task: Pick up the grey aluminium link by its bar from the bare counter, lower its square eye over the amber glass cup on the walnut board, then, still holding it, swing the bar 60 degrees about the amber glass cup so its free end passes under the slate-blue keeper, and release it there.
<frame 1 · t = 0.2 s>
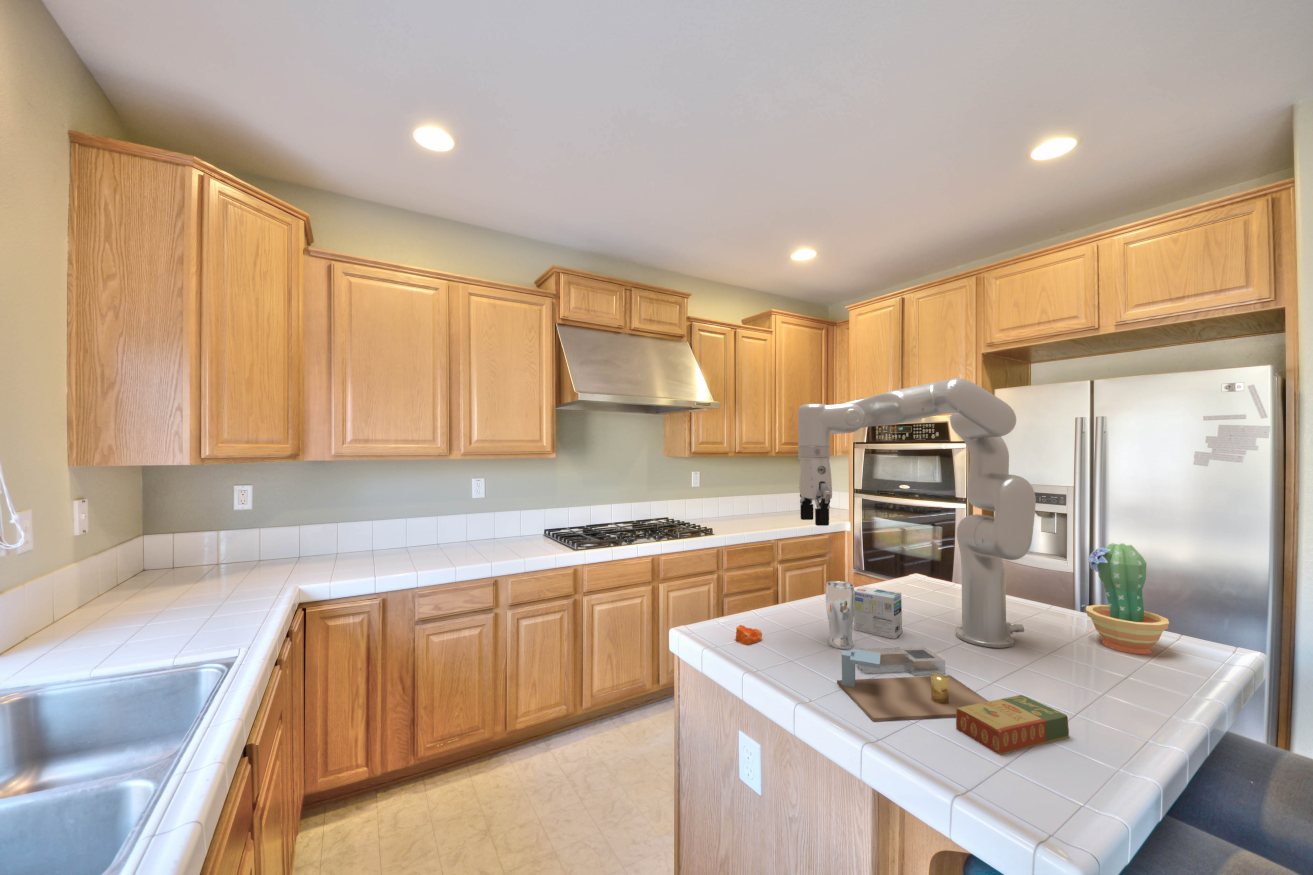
hand: (814, 522, 127), 31 cm above the countertop, fingers open, 9 cm apart
potted cactus: (1126, 647, 126), on the countertop
carton: (1011, 736, 88), on the countertop
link: (861, 670, 113), on the countertop
board: (915, 697, 101), on the countertop
keeper: (864, 673, 104), resting on board
rock: (748, 644, 131), on the countertop
light bulb box: (877, 632, 137), on the countertop
beer glass: (840, 645, 128), on the countertop
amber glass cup: (939, 688, 98), on the board, point 3 cm above the countertop
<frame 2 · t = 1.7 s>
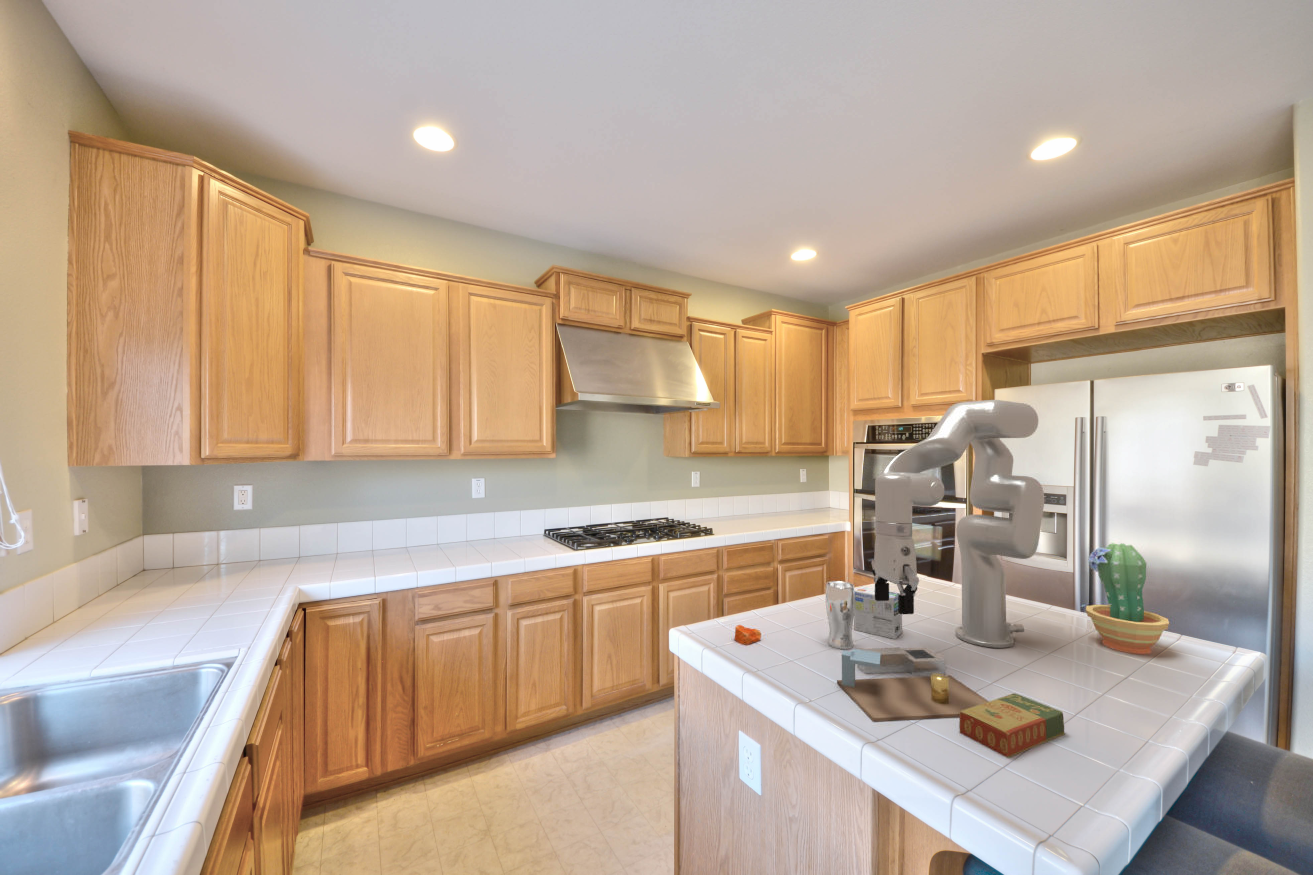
hand: (893, 606, 114), 14 cm above the countertop, fingers open, 9 cm apart
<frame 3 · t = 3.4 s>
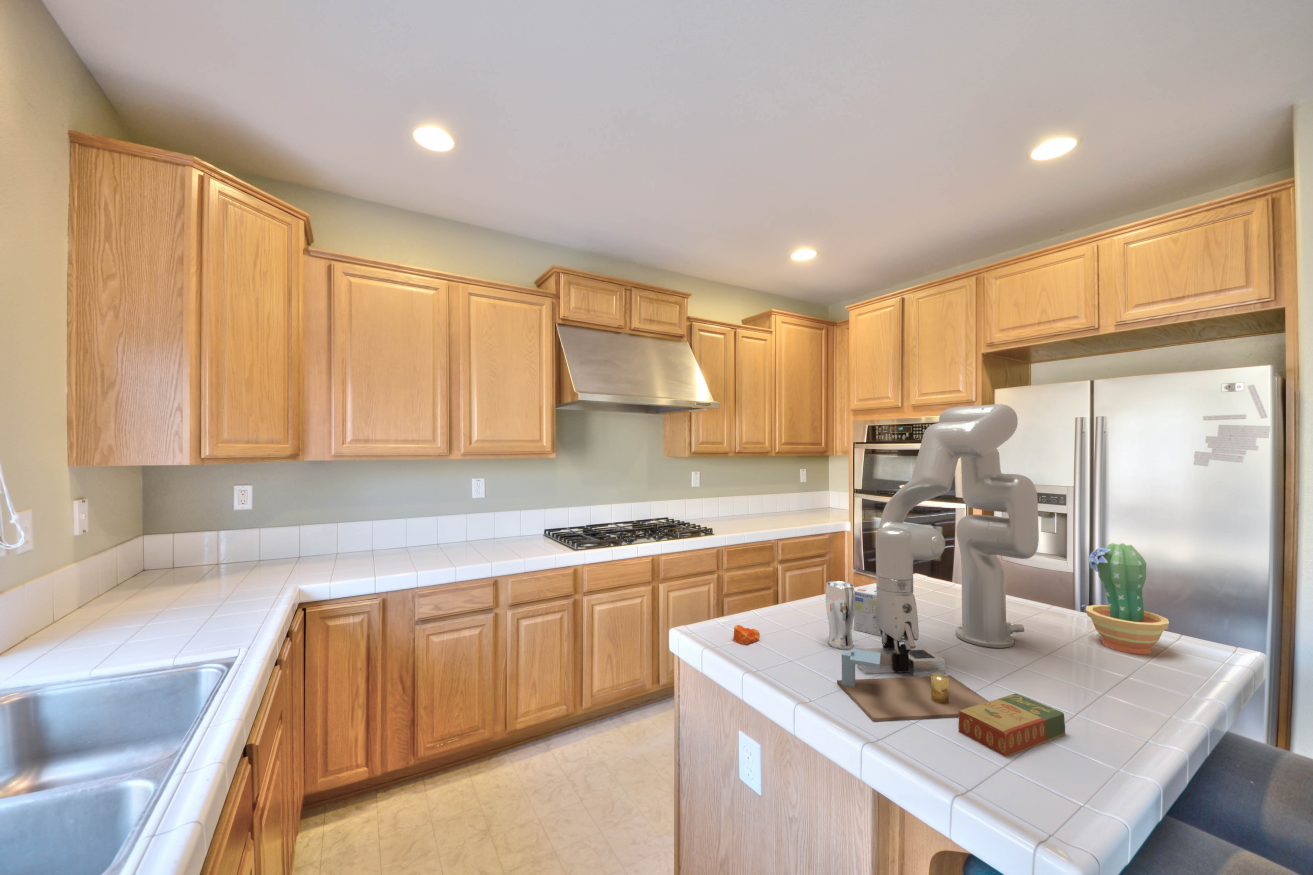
hand: (895, 666, 114), 1 cm above the countertop, fingers closed on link, 3 cm apart
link: (861, 670, 113), on the countertop, touching gripper
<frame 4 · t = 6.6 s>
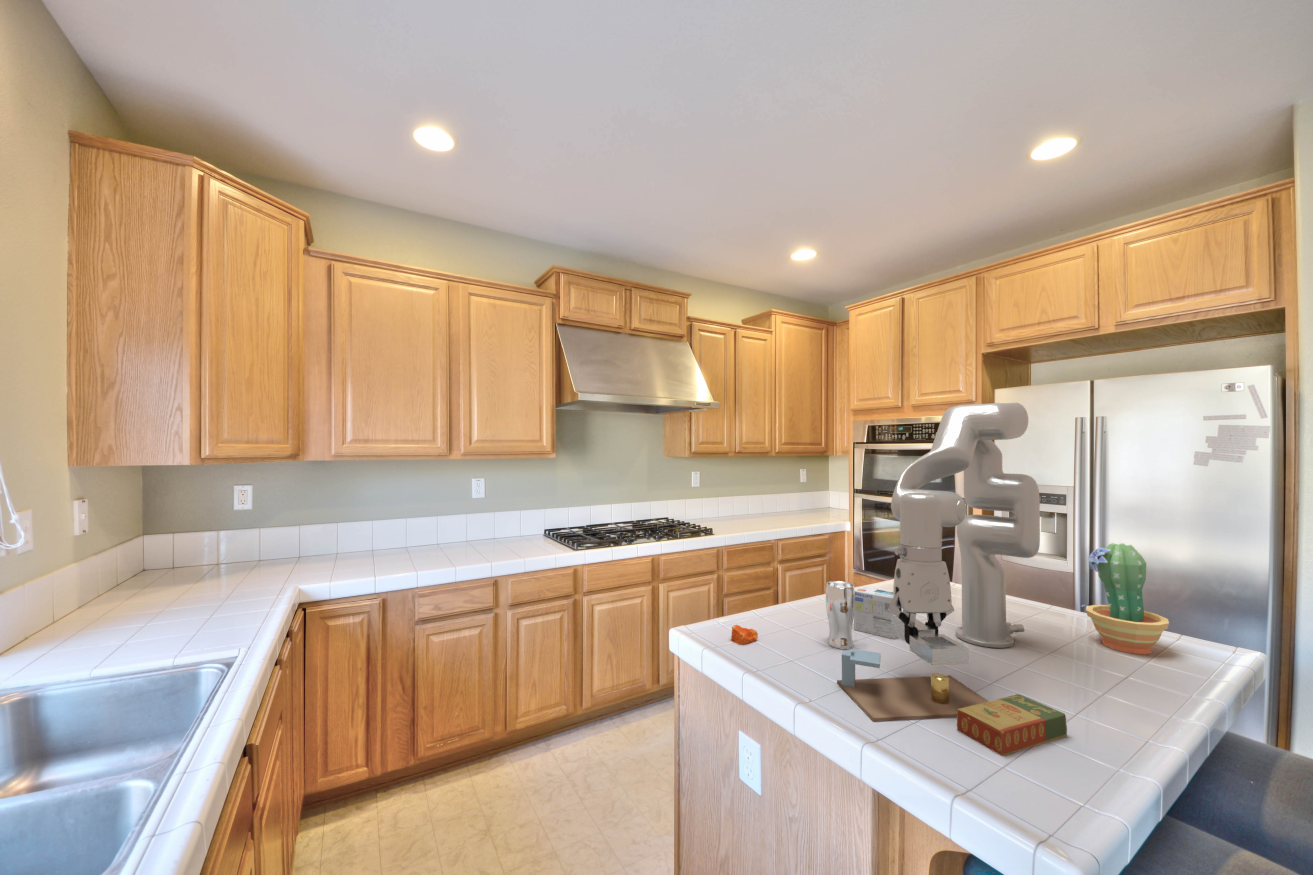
hand: (921, 643, 104), 9 cm above the countertop, fingers closed on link, 3 cm apart
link: (898, 632, 112), point 9 cm above the countertop, touching gripper
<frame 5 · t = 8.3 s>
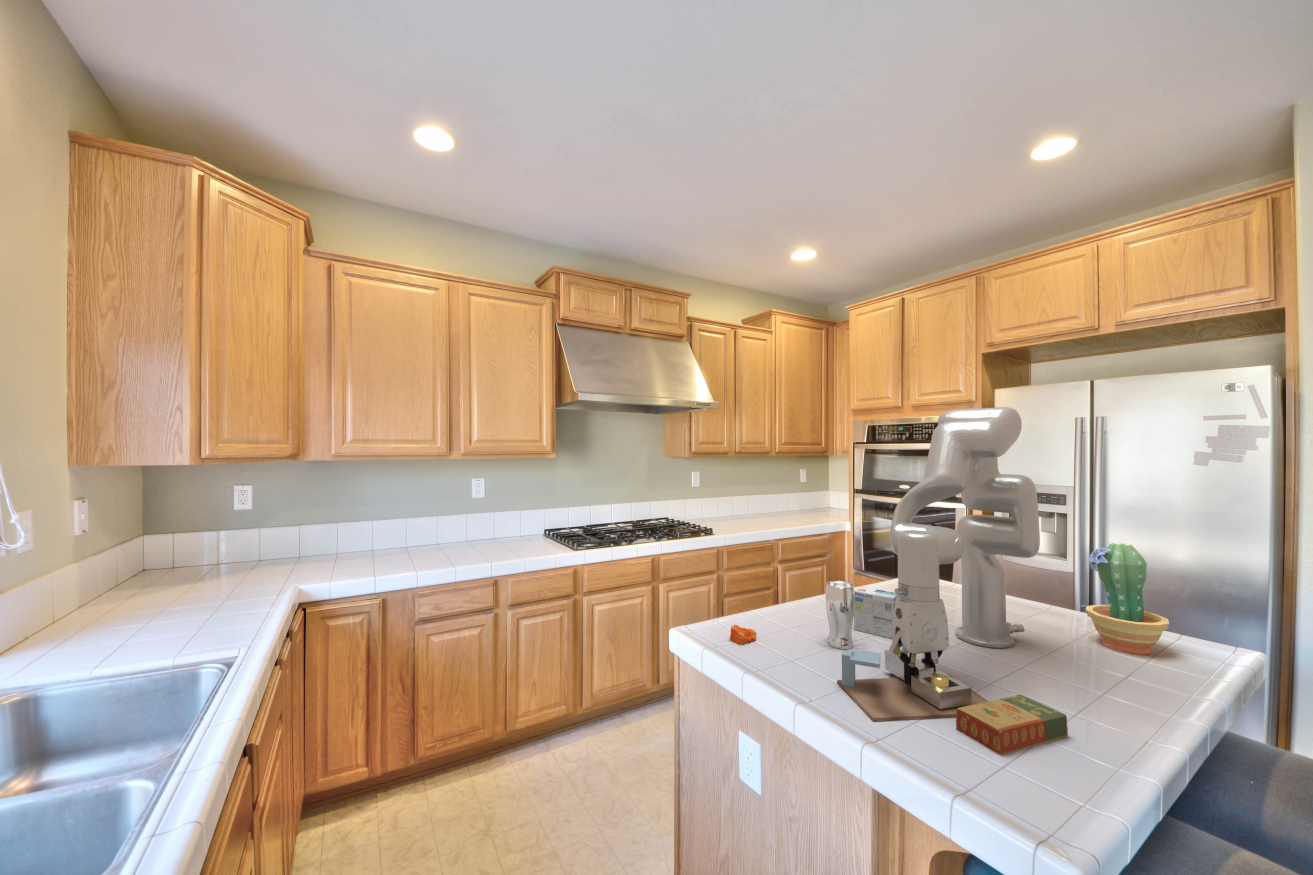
hand: (919, 681, 104), 2 cm above the countertop, fingers closed on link, 3 cm apart
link: (892, 667, 112), point 1 cm above the countertop, touching gripper
when the fingers open (2 cm above the countertop, at t = 9.9 s): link stays where it is, resting on board.
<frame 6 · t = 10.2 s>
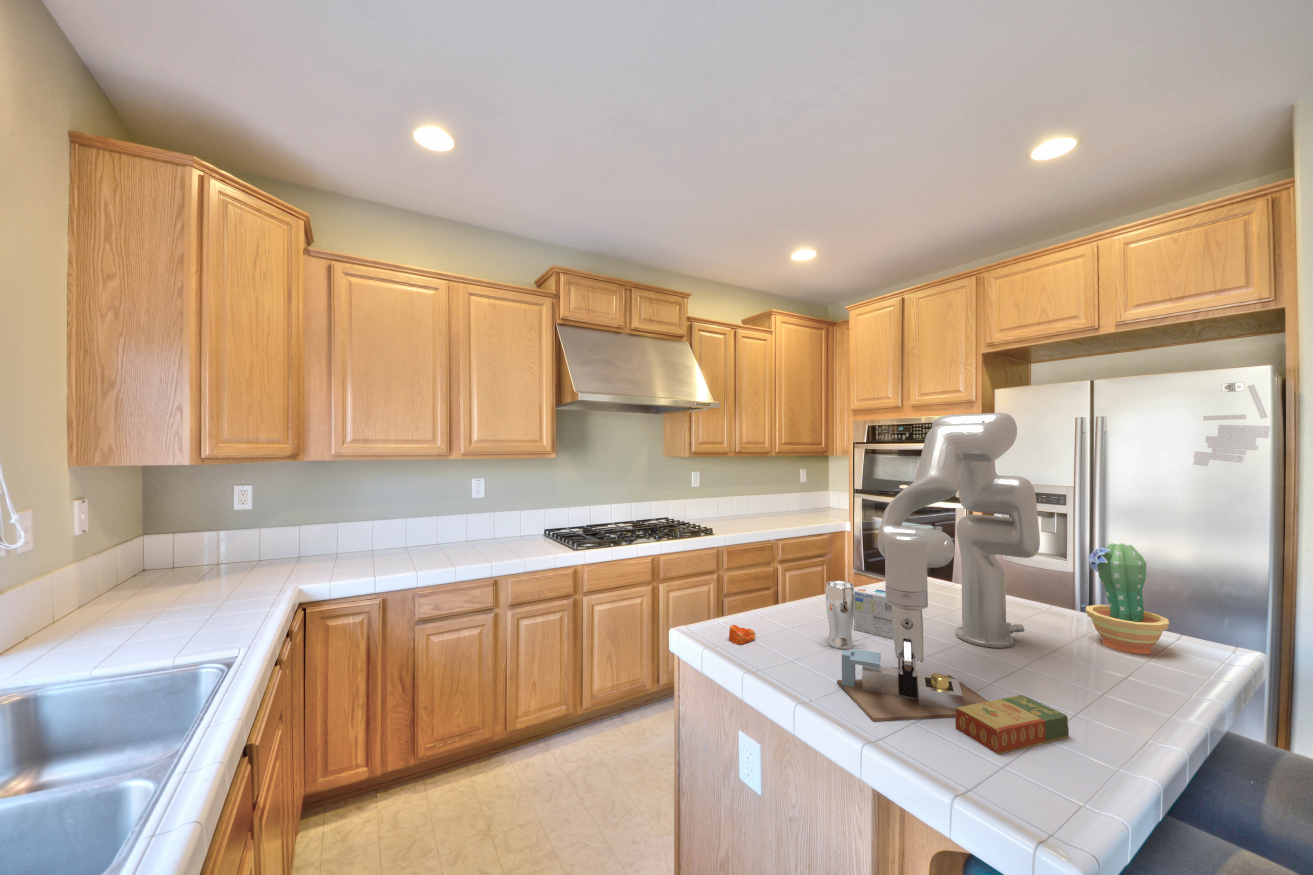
hand: (907, 686, 101), 2 cm above the countertop, fingers open, 7 cm apart
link: (863, 686, 104), point 1 cm above the countertop, touching board
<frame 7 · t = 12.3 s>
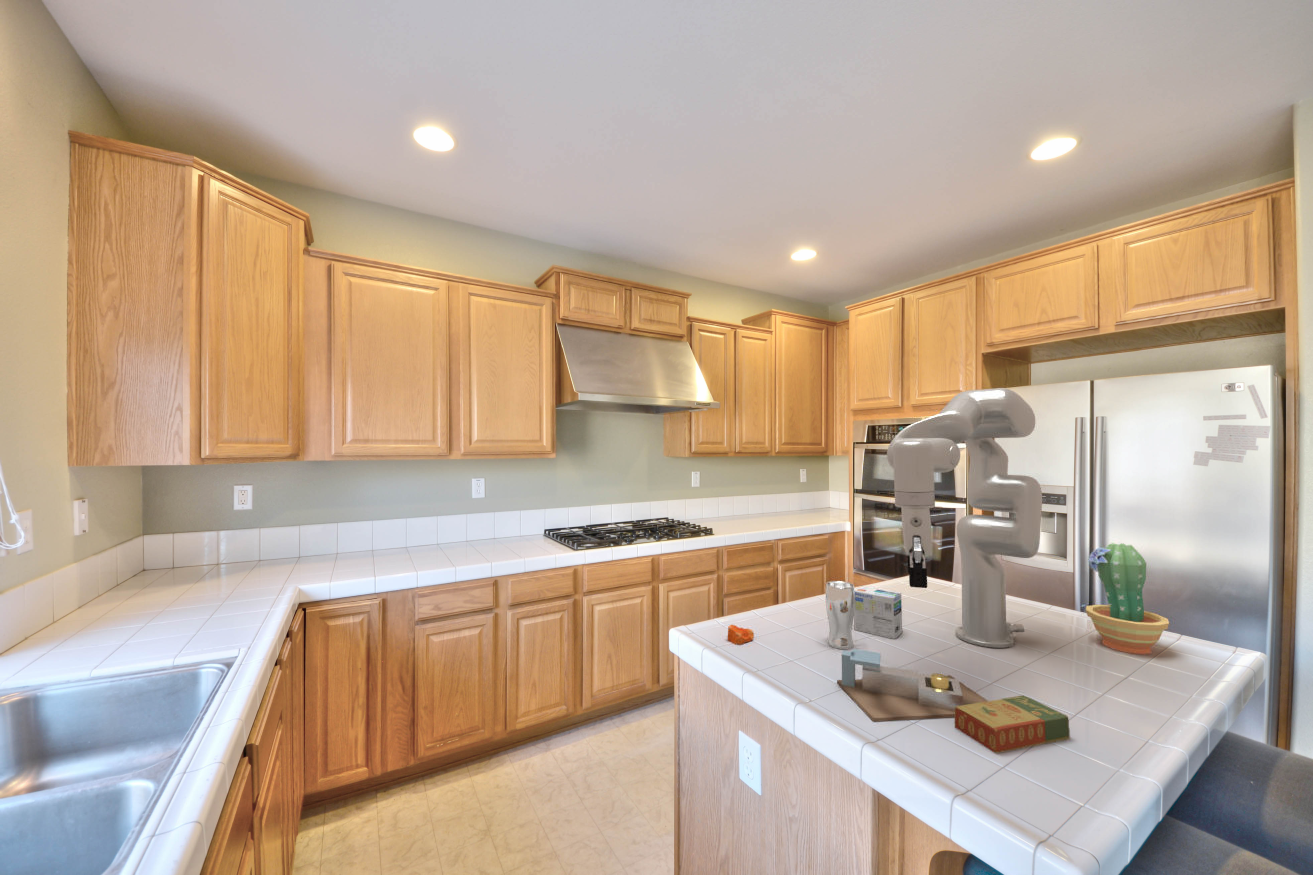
hand: (917, 580, 108), 21 cm above the countertop, fingers open, 9 cm apart
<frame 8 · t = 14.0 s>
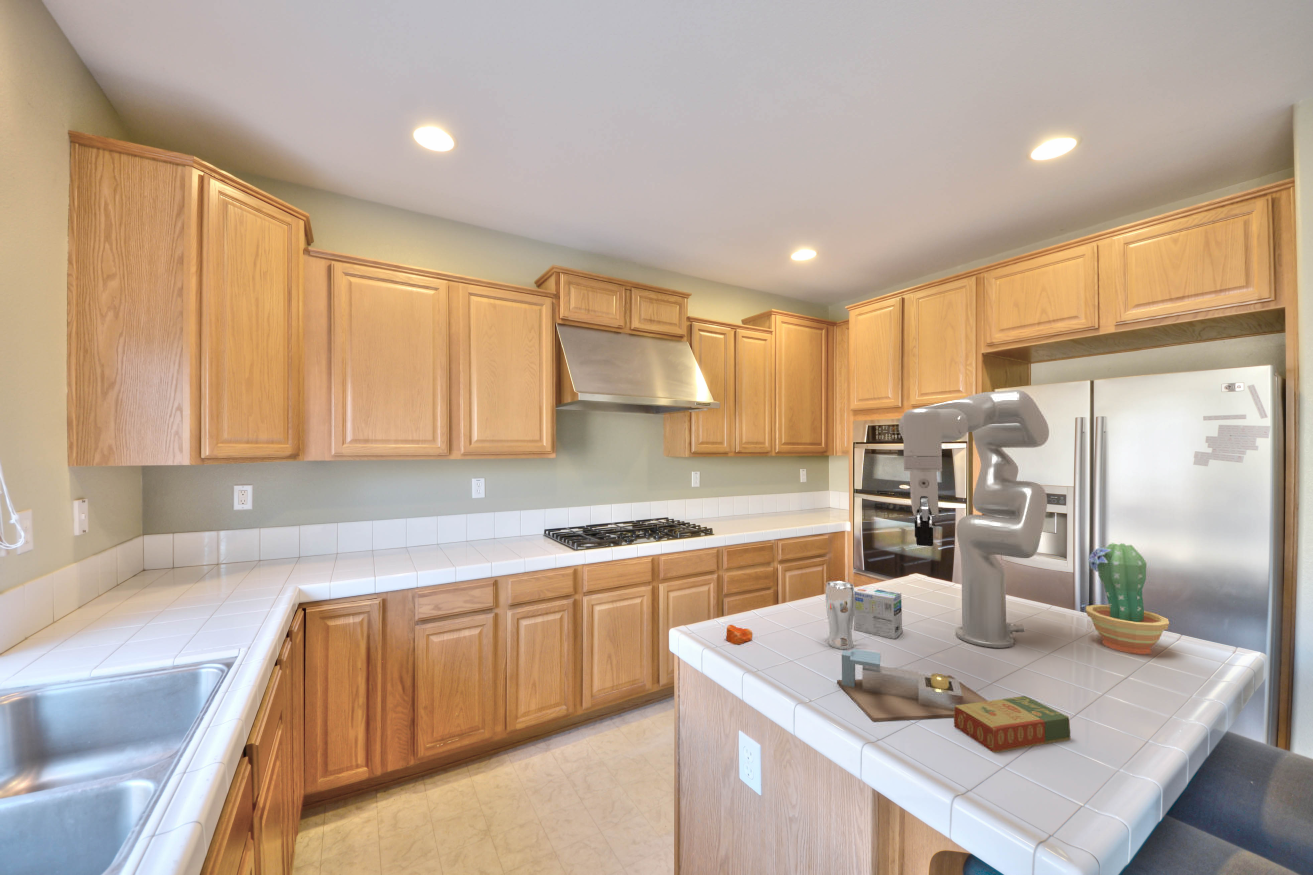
hand: (923, 541, 113), 28 cm above the countertop, fingers open, 9 cm apart
at the end: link inside the target area (0.5 cm from its centre), point 0.6 cm above the countertop; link point 0.6 cm above the countertop; the gripper is holding nothing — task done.
